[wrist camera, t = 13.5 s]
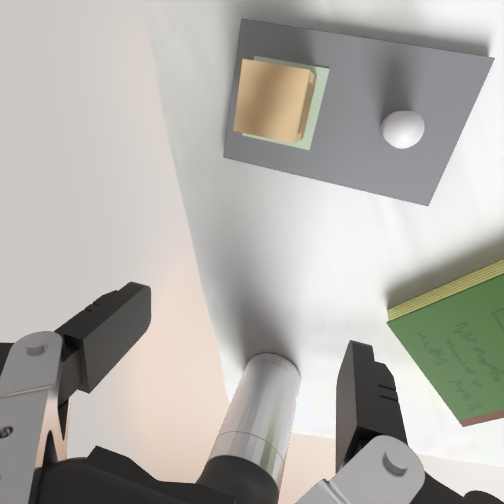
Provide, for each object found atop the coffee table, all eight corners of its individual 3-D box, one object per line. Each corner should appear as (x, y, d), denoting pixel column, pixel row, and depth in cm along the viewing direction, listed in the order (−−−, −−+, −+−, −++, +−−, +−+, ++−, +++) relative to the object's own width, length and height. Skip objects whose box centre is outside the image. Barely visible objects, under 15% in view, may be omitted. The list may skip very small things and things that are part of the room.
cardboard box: (317, 77, 32) (309, 69, 26) (303, 138, 35) (293, 143, 29) (261, 67, 33) (242, 58, 27) (252, 127, 36) (233, 130, 30)
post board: (425, 202, 35) (442, 223, 29) (227, 155, 40) (202, 164, 33) (488, 60, 29) (528, 45, 23) (245, 22, 33) (219, 0, 27)
